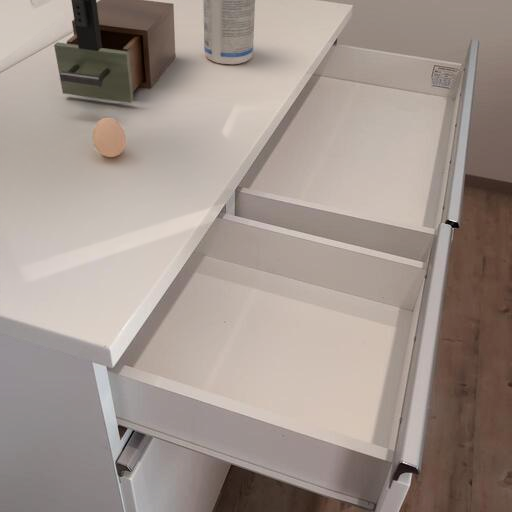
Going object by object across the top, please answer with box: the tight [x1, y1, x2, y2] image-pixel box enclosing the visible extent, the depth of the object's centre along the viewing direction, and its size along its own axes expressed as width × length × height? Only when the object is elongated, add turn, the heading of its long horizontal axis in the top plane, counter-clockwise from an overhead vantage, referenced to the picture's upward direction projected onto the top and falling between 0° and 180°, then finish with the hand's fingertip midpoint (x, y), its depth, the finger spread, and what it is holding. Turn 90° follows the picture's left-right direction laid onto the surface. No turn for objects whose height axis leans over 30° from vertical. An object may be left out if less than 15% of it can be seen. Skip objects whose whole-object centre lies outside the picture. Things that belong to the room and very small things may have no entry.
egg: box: [92, 117, 127, 158], centre depth 75 cm, size 4×4×6 cm
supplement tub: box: [202, 0, 256, 65], centre depth 102 cm, size 10×10×15 cm
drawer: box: [53, 30, 146, 104], centre depth 89 cm, size 19×12×8 cm, turn 170°
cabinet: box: [71, 0, 176, 89], centre depth 97 cm, size 15×13×10 cm
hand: (90, 47), depth 74 cm, fingers closed
